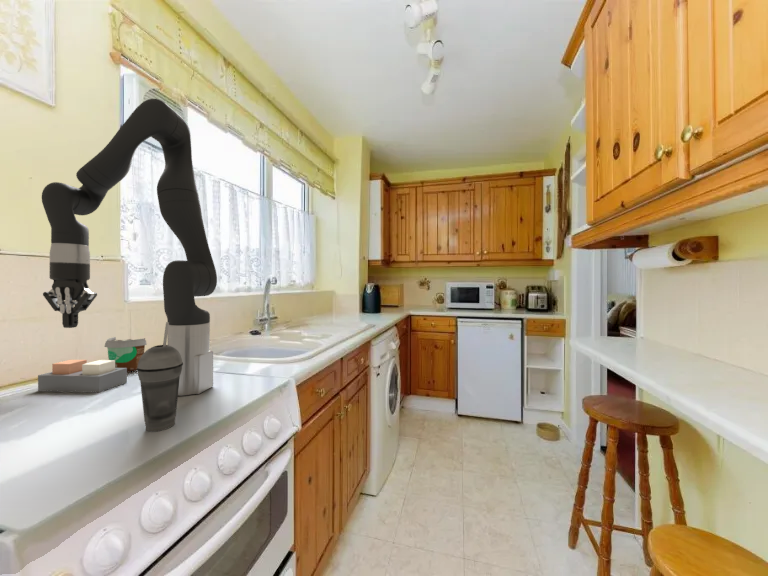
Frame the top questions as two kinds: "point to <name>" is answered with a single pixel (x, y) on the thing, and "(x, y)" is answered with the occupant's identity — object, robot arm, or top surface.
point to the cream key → (98, 367)
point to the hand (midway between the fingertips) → (70, 327)
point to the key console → (81, 381)
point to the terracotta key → (68, 366)
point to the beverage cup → (160, 384)
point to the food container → (125, 352)
